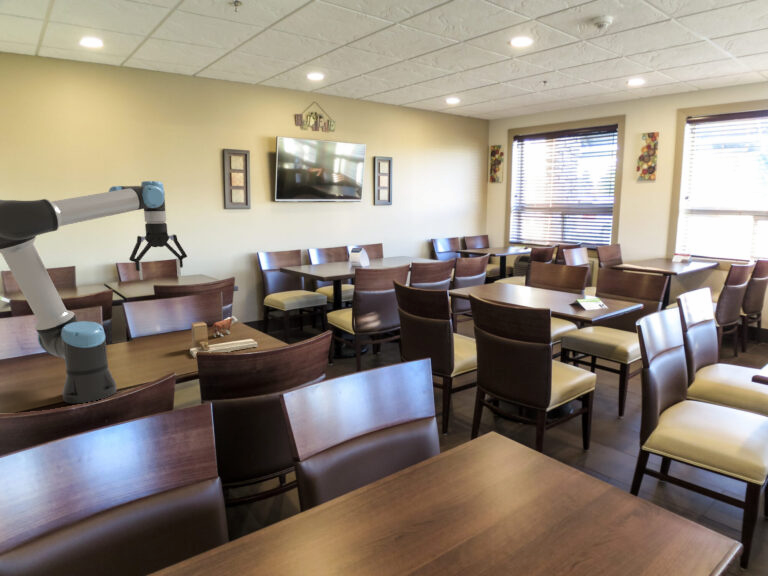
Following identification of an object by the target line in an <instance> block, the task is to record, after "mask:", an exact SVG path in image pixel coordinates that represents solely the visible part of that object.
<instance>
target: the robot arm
mask: <svg viewBox="0 0 768 576" xmlns="http://www.w3.org/2000/svg"><path fill="white" fill-rule="evenodd" d="M164 188H165V187H164V184H163V182H162V181H156V180H155V181H154V180H152V181H150V180H146V181H141V185H130V186H129V185H117V186H114V185H113V186H111V187H110V188H109V189H108V191H106V192H100V193H99V192H98V193H96V194H95V193H94V194H93V193H92V194H87V195H83V196H82V195H81V196H76V197H71V198H70V197H69V198H64V199H58V200H54V201H53V200H52V201H50V200H49V199H46V198H42V199H37V200H36V199H35V200H18V199H17V200H16V199H15V200H13V199H7V200H6V199H5V200H4V199H0V254H1V255H2V257H3V260H4V262H6V265H7V266H8V268H9V270H10V272H11V274H12V276H13V278H14V280H15V282H16V283H17V285H18V287H19V289H20V290H21V292H22V294H23V296H24V298H25V300H26V302H27V304H28V306H29V307H30V309H31V310H32V313H33V315H34V316H35V319H36V321H37V322H36V323H35V327H34V328H35V330H36V332H37V334H38V335H37V342H38V344H39V346H40V347H41V348H42V350H43V351H44V352H46V353H47V354H49V355H52V356H55V357H58V358H61V359H64V362H65V363H64V364H65V370H66V371H65V372H66V378H65V382H64V384H63V390H62V400H63V401H64V402H65V403H68V404H87V403H86V402H88V403H92V402H91V401H94V402H97V401H96V400H98V401H100V400H99V399H101V400H103V399H106V398H109V397H111V396H113V395H115V393H117V391H118V390H117V383H116V380H115V378H114V377H113V375H112V374H111V371H110V369H109V363H108V361H109V360H108V354H107V343H106V333H105V330H104V327H103V325H102V324H100V323H98V322H95V321H84V320H83V321H79V320H78V318H77V317H76V315H75V312H73V311H71V310H68V309H67V308H66V306H65V304H64V302H63V299H62V298H61V296H60V294H59V292H58V290H57V288H56V286H55V285H54V282H53V280H52V279H51V277H50V274H49V273H48V270H47V269H46V267H45V264H44V263H43V261H42V259H41V256H40V255H39V253H38V250H37V248H36V247H35V244H34V243H35V241H36V239H37V236H40V235H43V234H44V235H45V234H47V233H48V234H49V233H52V232H55V231H58V230H59V228H60V227H64V226H68V225H73V224H77V223H83V222H87V221H92V220H97V219H101V218H105V217H109V216H114V215H116V216H117V215H120V214H125V213H129V212H134V211H135V212H136V211H140V210H143V211H144V212H143V215H144V216H143V217H144V222H145V225H144V227H145V228H144V229H145V236H140V235H138V236H137V237H136V243H135V245H134V247H133V250H132V252H131V254H130V256H129V258H128V260H129V261H131V262H133V263H134V264H135V265H134V266H135V271H137V272H138V275H139V279H140V280H144V278H143V266H142V264H143V263H142V262H141V260H142V259H143V257H144V256H145V255H146V254H147V253H148V251H149V250H150V249H151V248H158V247H159V248H164V246H165V247H166V249H168V250H169V251H170V252H171V253H172V254H173V255H174V256H175V257H176V258H177V259H175V260H176V273H177V274H176V275H177V277H179V278H180V277H182V274H181V269H182V268H184V267H183V266H184V265H183V260H184V259H185V258H188V255H187V253H186V251H185V250H184V248H183V246H182V245H181V244H180V242H179V240H178V237H177V234H171V235H169V233H168V224H167V223H166V222H167V214H166V213H167V211H166V199H165V190H164ZM144 240H145V241H146V242H147V243H146V245H145V246H144V248H143V249H142V250H141V252H139V254H138V251H139V249H140V247H141V245H142V243H143V242H144ZM169 240H170V241H173V243H174V245H175V246H176V248H177V250H178V251H179V252H180V254H179V253H178V252H177V251H176V250H175V248H174V247H172V246H171V245H170V243H168V241H169ZM136 256H137V257H136Z"/></svg>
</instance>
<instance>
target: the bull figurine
mask: <svg viewBox="0 0 768 576" xmlns="http://www.w3.org/2000/svg"><path fill="white" fill-rule="evenodd" d="M234 323H238V319H237V318H236V317H235V316H234V315H232V316H230V317H229V316H228V317H226V318H225V319H222V320H221V321H217V322H214V323H213V324H212V328H213V331H212V332H213V337H214V338H217V335H218V336H220V337H225V336H224V334H222V332H223V331H225V334H227V335H231V333H230V331H231V327H232V326H233V324H234ZM216 333H217V335H216Z"/></svg>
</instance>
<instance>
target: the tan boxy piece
mask: <svg viewBox="0 0 768 576" xmlns="http://www.w3.org/2000/svg"><path fill="white" fill-rule="evenodd" d="M190 326H191V339H192V340H191V341H192V348H196V347H201V348H202V349H203V350H204V351H205V350H209V346H208V345H209V337H208V336H209V335H208V325H207V323H205V322H204V321H198V322H191V323H190Z"/></svg>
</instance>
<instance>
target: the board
mask: <svg viewBox="0 0 768 576" xmlns="http://www.w3.org/2000/svg"><path fill="white" fill-rule="evenodd" d="M258 345H259V344H258V342H257V341H255V340H254V339H253V338H247V339H240V340H234V341H227V342H220V343H216V344H215V343H213V344H210V345H209V344H208V346H209V350H205V351H204V350H203V349H202V348H201V347H196V348H193V347H191V348H189V353H190V355H191V356H192V357H193V358H194V359H197V358H196V353H197V352H209V353H211V352H228V353H232V352H231V351H233V350H239V349H245V348H251V347H257V348H258V347H259V346H258ZM251 349H252V348H251Z"/></svg>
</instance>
